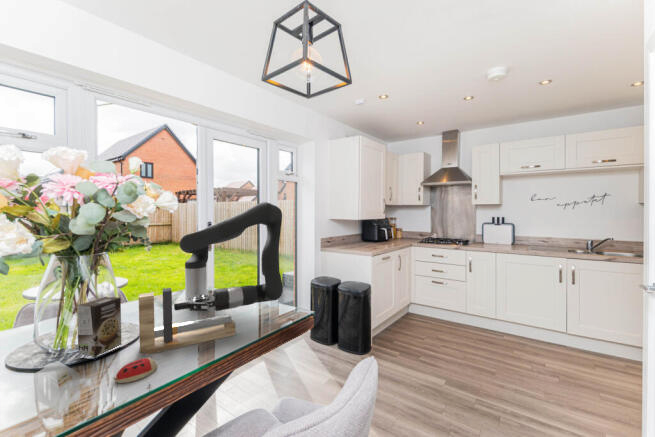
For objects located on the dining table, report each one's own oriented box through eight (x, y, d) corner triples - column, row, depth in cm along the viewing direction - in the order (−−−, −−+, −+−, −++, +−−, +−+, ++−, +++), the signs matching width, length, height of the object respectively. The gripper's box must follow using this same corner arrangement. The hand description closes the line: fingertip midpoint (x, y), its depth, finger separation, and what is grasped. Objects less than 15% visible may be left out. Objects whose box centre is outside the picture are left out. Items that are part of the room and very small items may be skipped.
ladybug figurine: (161, 371, 80) (161, 358, 80) (120, 389, 72) (120, 375, 72) (150, 364, 84) (150, 352, 84) (109, 380, 76) (109, 367, 76)
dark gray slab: (163, 336, 98) (162, 288, 97) (171, 335, 99) (170, 287, 98) (164, 342, 93) (163, 291, 93) (172, 340, 95) (171, 290, 94)
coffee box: (95, 361, 86) (93, 306, 85) (77, 358, 87) (75, 304, 86) (122, 346, 94) (121, 297, 94) (106, 344, 96) (105, 296, 95)
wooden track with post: (140, 344, 96) (139, 292, 95) (230, 325, 111) (230, 280, 111) (139, 356, 88) (138, 299, 88) (237, 334, 104) (236, 286, 103)
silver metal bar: (147, 337, 94) (147, 329, 94) (230, 320, 108) (229, 313, 108) (147, 340, 92) (147, 331, 92) (231, 322, 106) (231, 315, 106)
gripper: (223, 284, 112) (172, 290, 102) (232, 292, 100) (175, 300, 91) (224, 303, 112) (172, 312, 103) (232, 314, 100) (176, 324, 91)
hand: (174, 306), depth 97 cm, fingers closed
